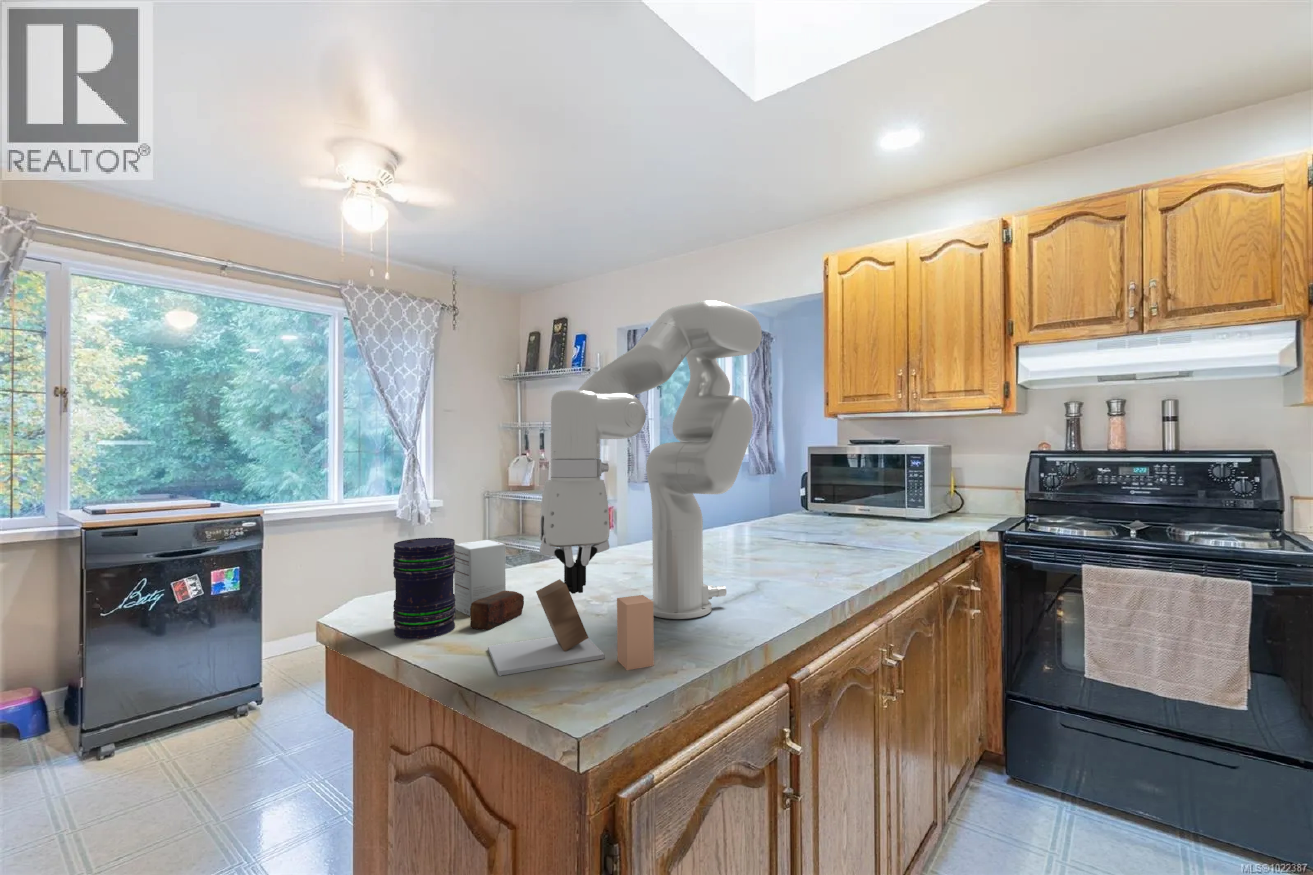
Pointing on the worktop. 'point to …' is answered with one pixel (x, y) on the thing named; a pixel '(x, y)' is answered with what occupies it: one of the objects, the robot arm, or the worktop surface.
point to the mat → (540, 655)
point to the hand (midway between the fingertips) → (575, 591)
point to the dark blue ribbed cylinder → (424, 588)
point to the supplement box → (478, 572)
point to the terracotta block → (635, 632)
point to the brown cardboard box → (562, 614)
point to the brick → (495, 609)
